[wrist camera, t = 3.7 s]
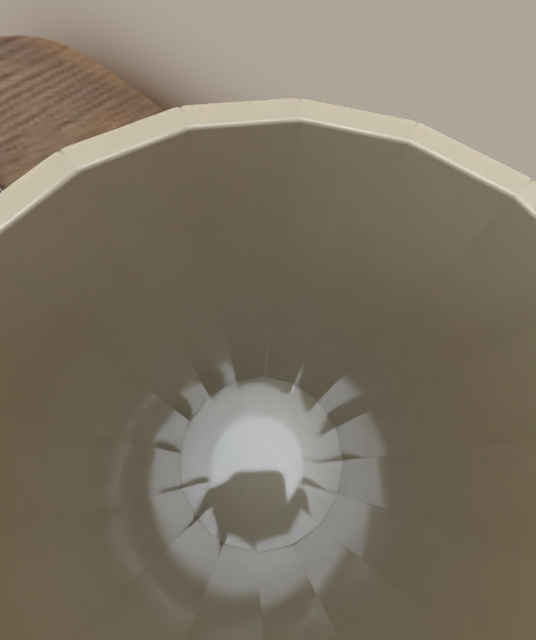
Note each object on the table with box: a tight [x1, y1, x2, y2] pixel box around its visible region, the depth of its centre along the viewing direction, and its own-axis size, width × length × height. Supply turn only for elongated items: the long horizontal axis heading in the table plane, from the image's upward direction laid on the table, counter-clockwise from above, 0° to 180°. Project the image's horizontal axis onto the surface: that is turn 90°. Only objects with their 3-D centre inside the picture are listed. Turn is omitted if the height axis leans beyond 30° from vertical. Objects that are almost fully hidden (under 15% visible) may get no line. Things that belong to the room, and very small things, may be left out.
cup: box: [0, 98, 536, 640], centre depth 9 cm, size 7×7×13 cm
